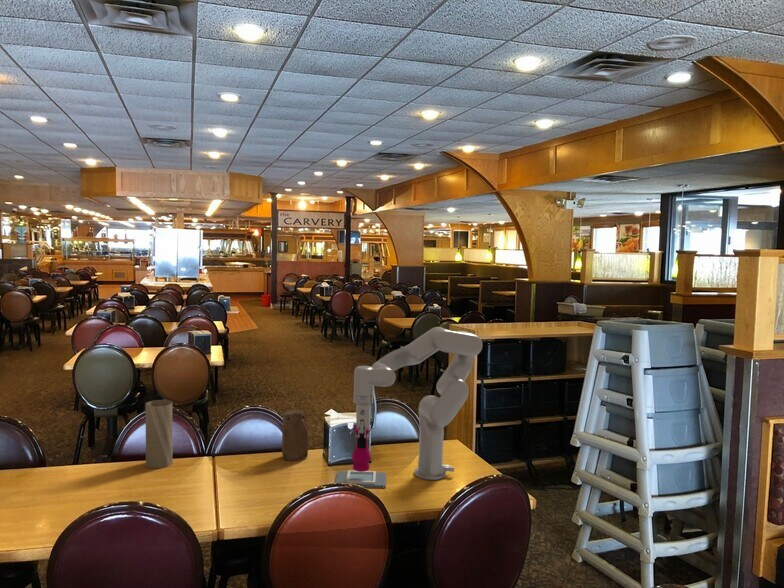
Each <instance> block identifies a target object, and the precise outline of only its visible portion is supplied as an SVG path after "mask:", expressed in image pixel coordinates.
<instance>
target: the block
mask: <svg viewBox="0 0 784 588" xmlns="http://www.w3.org/2000/svg"><path fill="white" fill-rule="evenodd" d="M282 417H283V418H282V430H281V431H282V432H281V433H282V434H281V435H282V437H281V452H282V458H283V459H284V460H286V461H291V462H292V461H293V460H294V461H298V460H300V459H301V460H305V459H306V458H307V457H308V455H309V429H308V426H307V423H308V422H307V417H306V414H305V412H304V411H303V410H300V409H297V410H294V409H293V410H286V411H284V413H283V416H282ZM301 460H300V461H301Z"/></svg>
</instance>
